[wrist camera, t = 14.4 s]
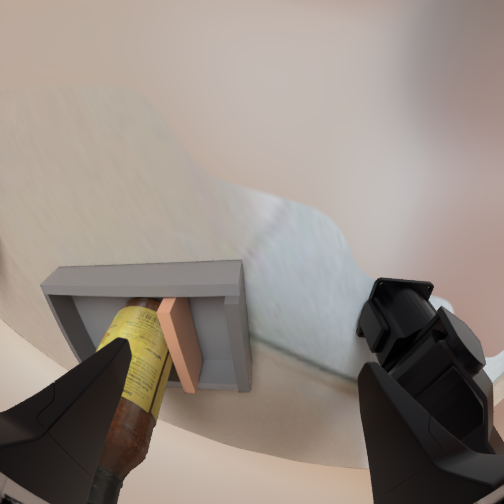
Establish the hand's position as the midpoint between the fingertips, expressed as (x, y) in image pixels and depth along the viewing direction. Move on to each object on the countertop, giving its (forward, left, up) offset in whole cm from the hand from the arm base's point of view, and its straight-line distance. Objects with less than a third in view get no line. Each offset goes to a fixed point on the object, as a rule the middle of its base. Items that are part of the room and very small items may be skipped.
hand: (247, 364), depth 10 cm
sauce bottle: (+9, +10, -13) cm, 18 cm away
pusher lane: (+10, +10, -13) cm, 19 cm away
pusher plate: (+5, +9, -12) cm, 16 cm away
